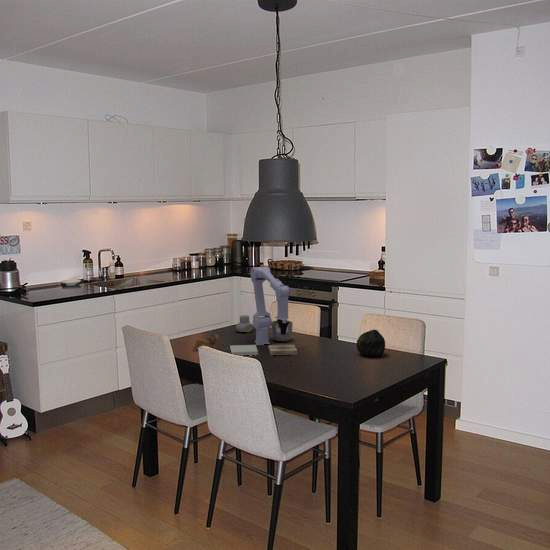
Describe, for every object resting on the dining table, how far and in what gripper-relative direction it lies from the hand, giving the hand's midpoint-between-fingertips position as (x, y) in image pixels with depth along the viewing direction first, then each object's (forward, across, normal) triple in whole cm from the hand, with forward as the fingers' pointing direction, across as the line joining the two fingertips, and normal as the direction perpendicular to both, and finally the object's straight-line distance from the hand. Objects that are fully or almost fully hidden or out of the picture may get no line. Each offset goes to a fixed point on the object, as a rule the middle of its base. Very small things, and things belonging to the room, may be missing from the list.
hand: (282, 333), depth 326 cm
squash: (+11, +11, +46) cm, 48 cm away
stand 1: (+10, -1, -21) cm, 23 cm away
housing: (+1, 0, 0) cm, 1 cm away
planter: (+11, -26, +3) cm, 28 cm away
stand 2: (+10, 0, 0) cm, 10 cm away
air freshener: (+11, -51, -17) cm, 55 cm away
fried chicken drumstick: (+11, -8, -41) cm, 43 cm away
